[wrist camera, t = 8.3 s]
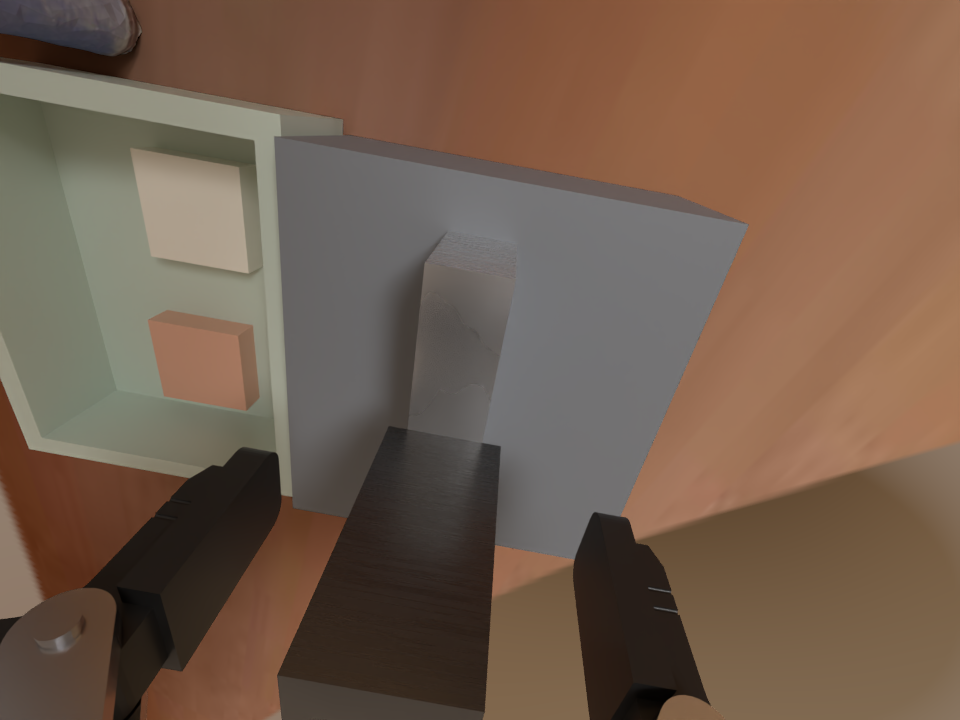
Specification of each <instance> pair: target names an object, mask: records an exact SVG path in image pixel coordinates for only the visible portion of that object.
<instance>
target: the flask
mask: <svg viewBox="0 0 960 720" xmlns="http://www.w3.org/2000/svg"><path fill="white" fill-rule="evenodd" d="M0 33H3V34H9V35H15V36H20V37H25V38H30V39H35V40H40V41H44V42H48V43H52V44H56V45H60V46H65V47H71V48H76V49H81V50H86V51H90V52H93V53H97V54H101V55H106V56H117V55H121V53H122V54H127V53H128V52H130V51H132V49H133V47H134V46H135V45H136V43H135V42H136V41H137V39H138V36H140V33H142V30H141V27H140V25H139V23H138V21H137V19H136V16H135V15H134V11H133V9H132V7H131V6H130V4H129V2H128V0H0ZM125 51H126V52H125Z"/></svg>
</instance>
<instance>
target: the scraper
mask: <svg viewBox="0 0 960 720" xmlns="http://www.w3.org/2000/svg"><path fill="white" fill-rule="evenodd" d="M516 259H517V243H512V242H507V241H501V240H496V239H490V238H485V237H479V236H474V235H468V234H463V233H457V232H452V231H448V232H447V233H446V234H445V236H444V237H443V239H442V240H441V241H440V243H439V244H438V245H437V247H436V248H435V250H434V251H433V252H432V254H431V255H430V256H429V258H428V259H427V260H426V262H425V264H424V274H423V284H422V294H421V303H420V313H419V323H418V332H417V342H416V352H415V361H414V371H413V381H412V390H411V400H410V410H409V420H408V429H403V428H397V427H392V426H389V427H388V429H387V431H386V433H385V436H384V438H383V440H382V442H381V445H380V447H379V449H378V451H377V453H376V456H375V458H374V460H373V462H372V465H371V467H370V469H369V471H368V474H367V476H366V478H365V480H364V483H363V485H362V487H361V489H360V491H359V494H358V496H357V498H356V500H355V503H354V505H353V507H352V509H351V512H350V514H349V516H348V518H347V520H346V523H345V525H344V527H343V529H342V532H341V534H340V536H339V538H338V541H337V543H336V545H335V547H334V550H333V552H332V554H331V556H330V558H329V561H328V563H327V565H326V567H325V570H324V572H323V574H322V576H321V579H320V581H319V583H318V585H317V588H316V590H315V592H314V594H313V596H312V599H311V601H310V603H309V605H308V608H307V610H306V612H305V614H304V617H303V619H302V621H301V623H300V626H299V628H298V630H297V632H296V634H295V637H294V639H293V641H292V643H291V646H290V648H289V650H288V652H287V655H286V657H285V659H284V661H283V664H282V666H281V668H280V670H279V672H278V675H277V678H278V687H279V697H280V706H281V716H282V720H482V719H483V716H484V713H485V698H486V680H487V664H488V648H489V647H488V646H489V632H490V615H491V600H492V583H493V567H494V551H495V534H496V518H497V502H498V485H499V469H500V453H501V446H497V445H491V444H486V443H482V441H483V437H484V432H485V427H486V422H487V417H488V412H489V408H490V403H491V398H492V393H493V388H494V383H495V378H496V374H497V369H498V364H499V359H500V354H501V349H502V345H503V340H504V335H505V330H506V325H507V320H508V315H509V311H510V306H511V301H512V296H513V291H514V286H515V282H516Z"/></svg>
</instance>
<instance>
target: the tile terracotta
mask: <svg viewBox="0 0 960 720" xmlns="http://www.w3.org/2000/svg"><path fill="white" fill-rule="evenodd" d="M148 324H149V329H150V334H151V338H152V343H153V348H154V352H155V357H156V361H157V366H158V371H159V375H160V380H161V385H162V389H163V394H164V396H165V397H171V398H176V399H182V400H188V401H193V402H199V403H204V404H210V405H216V406H221V407H227V408H233V409H238V410H244V411H247V410H248V409H249V408H250V407H251V406H252V405H253V404H254V403H255V402H256V401H257V400H258V399H259V398H260V395H259V385H258V374H257V363H256V353H255V342H254V331H253V325H249V324H243V323H238V322H232V321H227V320H221V319H215V318H210V317H204V316H198V315H193V314H187V313H182V312H176V311H170V310H166V311H164V312H162V313H160V314H158V315H156V316H154V317H152V318H150V319H148Z"/></svg>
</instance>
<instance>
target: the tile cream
mask: <svg viewBox="0 0 960 720" xmlns="http://www.w3.org/2000/svg"><path fill="white" fill-rule="evenodd" d="M130 152H131V157H132V162H133V167H134V172H135V177H136V182H137V187H138V192H139V197H140V202H141V207H142V212H143V217H144V222H145V228H146V233H147V238H148V243H149V248H150V253H151V256H152V257H158V258H163V259H169V260H175V261H180V262H186V263H192V264H197V265H203V266H209V267H214V268H220V269H225V270H231V271H237V272H242V273H248V274H249V273H251V272H253V271H255V270H257V269H259V268H261V267H262V266H263V256H262V241H261V227H260V213H259V198H258V184H257V170H256V165H254V164H248V163H243V162H237V161H231V160H226V159H220V158H215V157H209V156H203V155H198V154H192V153H186V152H181V151H175V150H169V149H164V148H158V147H136V148H130Z"/></svg>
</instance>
